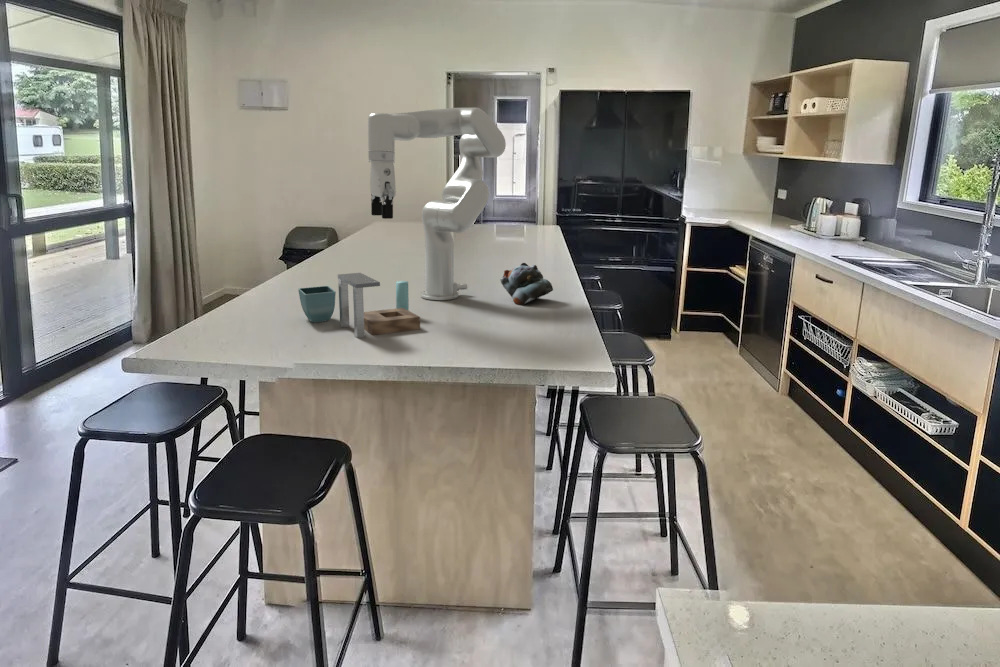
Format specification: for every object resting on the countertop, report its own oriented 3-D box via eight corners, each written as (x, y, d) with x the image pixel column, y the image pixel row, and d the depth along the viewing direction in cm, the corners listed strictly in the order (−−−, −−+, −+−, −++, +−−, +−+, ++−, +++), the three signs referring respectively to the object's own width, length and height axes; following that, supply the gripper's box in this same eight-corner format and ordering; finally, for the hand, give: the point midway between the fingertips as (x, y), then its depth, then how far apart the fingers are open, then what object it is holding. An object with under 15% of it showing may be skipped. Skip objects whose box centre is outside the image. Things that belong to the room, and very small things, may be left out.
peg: (405, 313, 215) (405, 280, 213) (410, 315, 212) (410, 282, 210) (394, 314, 214) (394, 281, 211) (399, 317, 211) (398, 283, 208)
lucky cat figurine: (517, 307, 226) (500, 266, 226) (508, 313, 237) (493, 274, 238) (559, 291, 229) (543, 251, 230) (549, 298, 241) (533, 260, 242)
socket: (403, 319, 208) (402, 307, 207) (420, 329, 198) (419, 316, 197) (356, 324, 201) (356, 312, 200) (372, 335, 191) (371, 322, 190)
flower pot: (306, 325, 200) (304, 294, 197) (299, 318, 207) (297, 288, 205) (337, 322, 204) (336, 291, 201) (329, 315, 211) (328, 285, 209)
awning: (361, 322, 203) (360, 272, 199) (381, 335, 191) (379, 282, 187) (339, 325, 200) (337, 274, 196) (357, 338, 188) (356, 284, 184)
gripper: (404, 158, 202) (404, 219, 206) (384, 157, 217) (384, 214, 221) (378, 157, 199) (379, 219, 203) (360, 156, 213) (361, 214, 218)
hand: (382, 216), depth 212 cm, fingers open, 9 cm apart
